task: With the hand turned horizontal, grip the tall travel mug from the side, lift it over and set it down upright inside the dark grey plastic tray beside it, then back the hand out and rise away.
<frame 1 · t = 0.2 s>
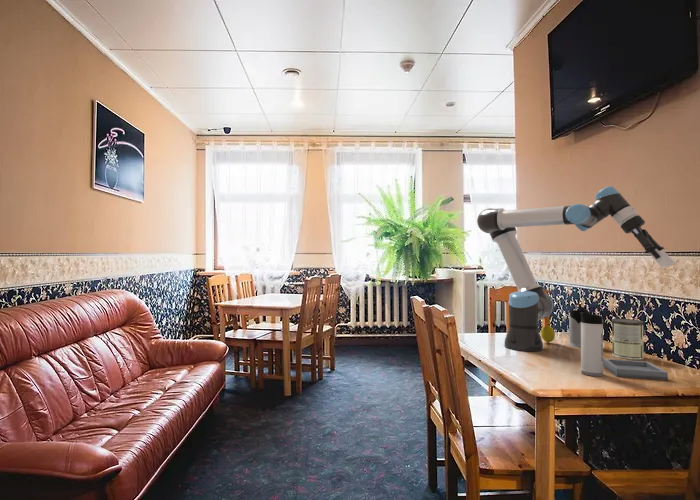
hand: (668, 265, 153), 36 cm above the table, tool tilted 35°, fingers open, 13 cm apart
lidded pitcher: (585, 346, 181), on the table
tray: (633, 372, 138), on the table
travel mug: (591, 374, 136), on the table
lemon: (548, 343, 186), on the table
coffee can: (627, 357, 161), on the table
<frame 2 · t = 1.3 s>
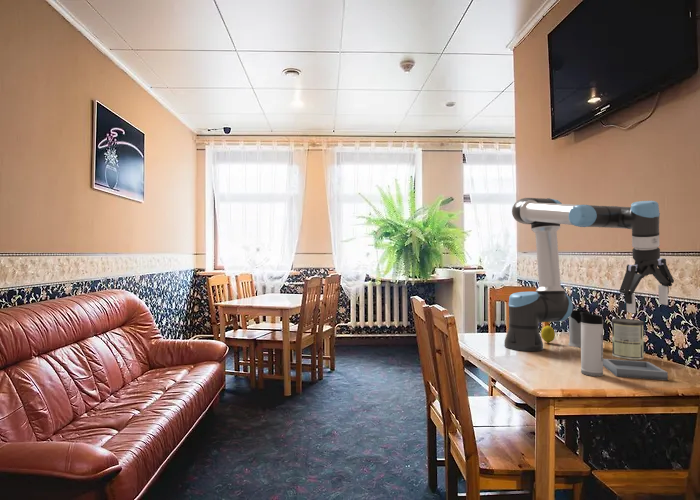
hand: (647, 308, 142), 21 cm above the table, tool pointing down, fingers open, 13 cm apart
nothing on the table moved.
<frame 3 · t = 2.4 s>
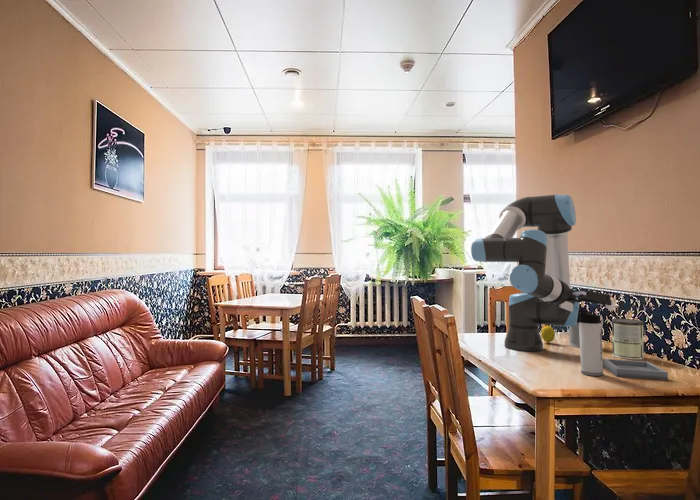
hand: (591, 306, 137), 22 cm above the table, tool tilted 75°, fingers open, 13 cm apart
nothing on the table moved.
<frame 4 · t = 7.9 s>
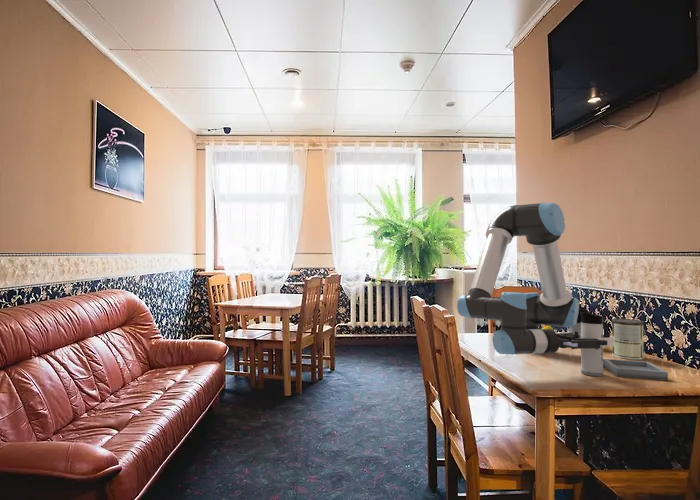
hand: (605, 339, 137), 11 cm above the table, tool horizontal, fingers closed on travel mug, 6 cm apart
travel mug: (591, 374, 136), on the table, touching gripper
everything else where it was.
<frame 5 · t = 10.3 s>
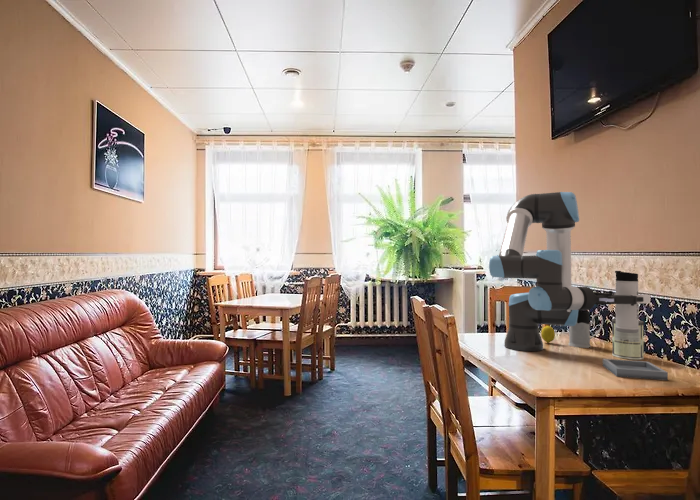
hand: (640, 298, 138), 25 cm above the table, tool horizontal, fingers closed on travel mug, 6 cm apart
travel mug: (626, 332, 137), point 14 cm above the table, touching gripper
everything else where it was.
when the fingers open (13 cm above the table, at t = 13.1 s): travel mug drops 1 cm, resting on tray.
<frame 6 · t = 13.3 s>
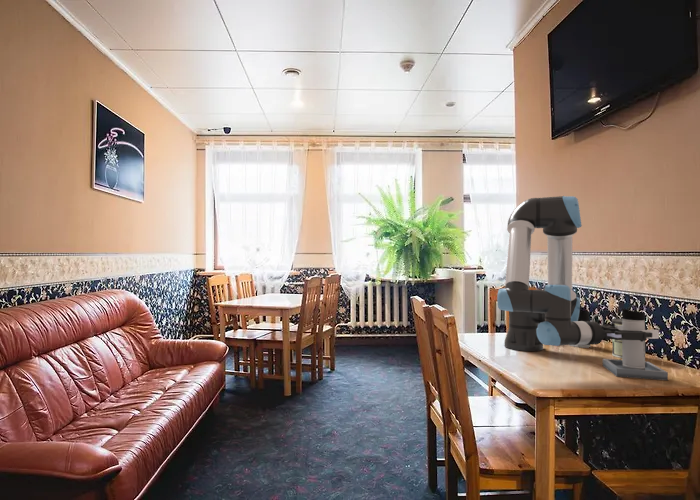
hand: (644, 331, 139), 13 cm above the table, tool horizontal, fingers open, 9 cm apart
travel mug: (633, 370, 138), point 1 cm above the table, touching tray
everything else where it was.
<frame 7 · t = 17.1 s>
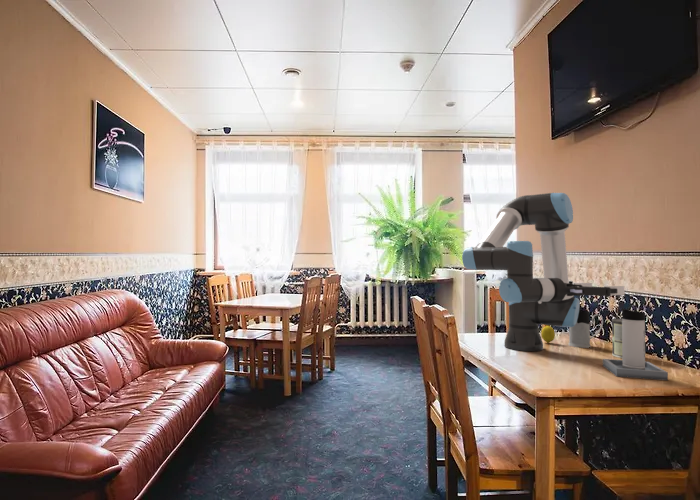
hand: (606, 288, 136), 28 cm above the table, tool horizontal, fingers open, 13 cm apart
nothing on the table moved.
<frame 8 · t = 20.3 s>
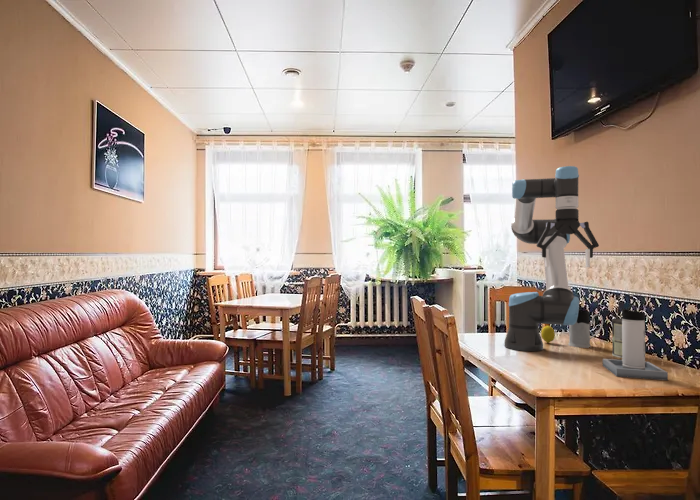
hand: (566, 266, 152), 35 cm above the table, tool pointing down, fingers open, 13 cm apart
nothing on the table moved.
at the end: travel mug inside the target area on the tray (0.1 cm from its centre), point 0.8 cm above the tray's base; travel mug tilted 0°; the gripper is holding nothing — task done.
